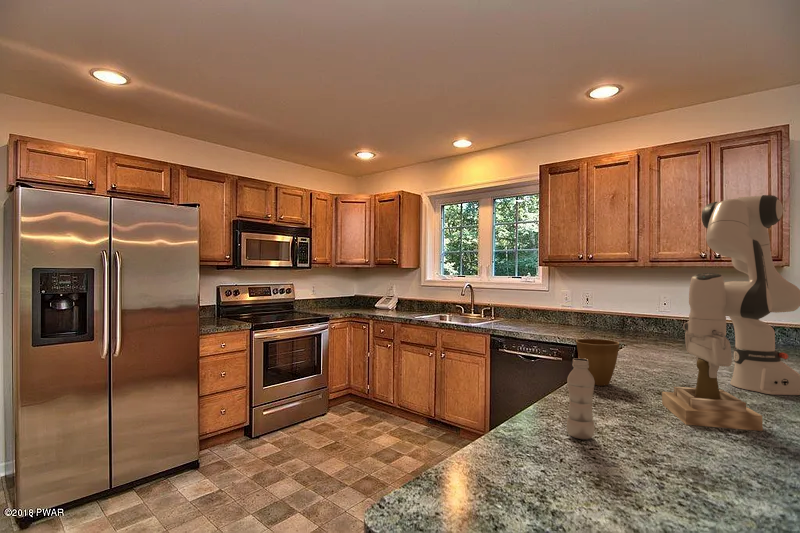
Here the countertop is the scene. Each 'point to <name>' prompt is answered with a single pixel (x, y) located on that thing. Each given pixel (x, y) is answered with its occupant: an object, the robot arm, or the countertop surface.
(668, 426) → the countertop surface
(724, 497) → the countertop surface
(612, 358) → the plant pot
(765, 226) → the robot arm
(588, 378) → the plastic bottle
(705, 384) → the cork
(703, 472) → the countertop surface
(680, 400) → the display stand
